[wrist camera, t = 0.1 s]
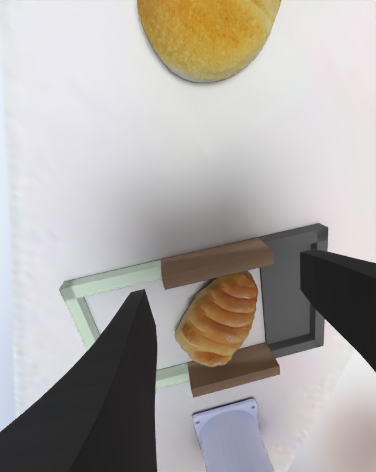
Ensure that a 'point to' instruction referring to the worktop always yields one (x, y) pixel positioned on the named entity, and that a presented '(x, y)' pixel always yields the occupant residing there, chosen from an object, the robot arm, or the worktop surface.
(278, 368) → the corridor
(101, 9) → the worktop surface
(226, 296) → the pastry
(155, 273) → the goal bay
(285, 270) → the tray
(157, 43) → the bread roll
